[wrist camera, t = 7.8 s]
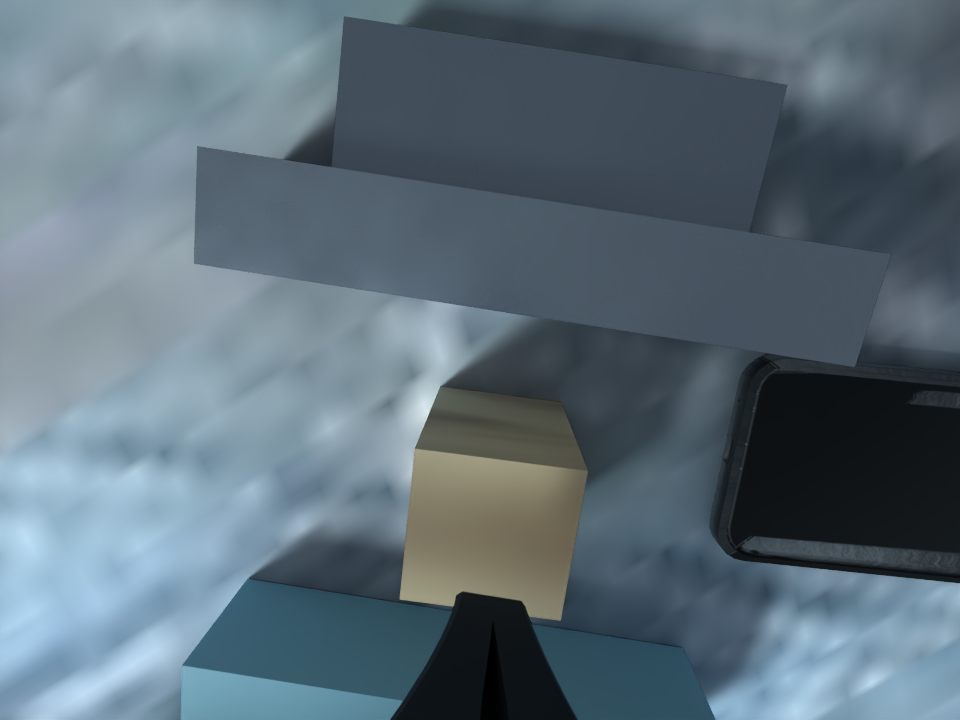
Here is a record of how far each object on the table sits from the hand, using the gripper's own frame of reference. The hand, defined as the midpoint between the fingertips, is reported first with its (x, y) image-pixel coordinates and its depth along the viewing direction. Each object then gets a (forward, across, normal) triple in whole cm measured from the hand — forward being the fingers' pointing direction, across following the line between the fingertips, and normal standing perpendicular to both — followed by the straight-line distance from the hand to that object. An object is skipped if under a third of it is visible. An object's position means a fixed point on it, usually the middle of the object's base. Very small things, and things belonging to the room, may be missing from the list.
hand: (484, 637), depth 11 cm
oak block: (+10, 0, 0) cm, 10 cm away
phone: (+10, -16, -2) cm, 19 cm away
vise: (+9, 0, -10) cm, 13 cm away
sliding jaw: (+9, 0, +9) cm, 13 cm away
